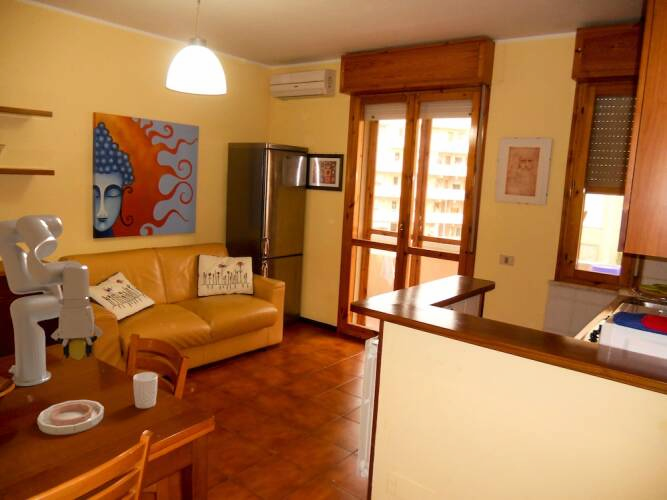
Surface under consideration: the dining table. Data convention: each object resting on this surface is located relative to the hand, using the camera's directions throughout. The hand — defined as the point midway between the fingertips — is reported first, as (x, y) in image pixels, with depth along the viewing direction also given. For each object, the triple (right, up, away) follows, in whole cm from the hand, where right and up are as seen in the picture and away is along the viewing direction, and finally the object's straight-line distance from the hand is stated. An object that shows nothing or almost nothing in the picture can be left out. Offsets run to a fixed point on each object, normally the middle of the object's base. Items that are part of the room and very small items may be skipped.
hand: (78, 355), depth 162 cm
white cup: (+19, -18, +7) cm, 28 cm away
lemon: (0, -2, 0) cm, 2 cm away
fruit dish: (+1, -19, -6) cm, 20 cm away
